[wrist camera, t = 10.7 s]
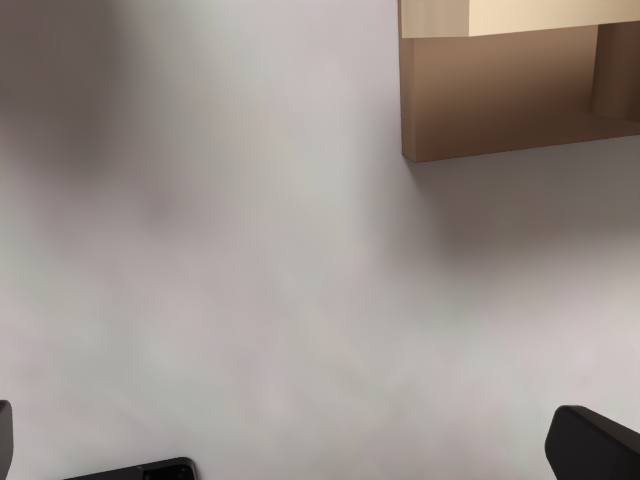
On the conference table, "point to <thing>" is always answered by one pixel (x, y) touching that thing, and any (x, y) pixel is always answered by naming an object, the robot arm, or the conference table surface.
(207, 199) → the conference table surface
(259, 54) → the conference table surface
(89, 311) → the conference table surface
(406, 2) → the beech stick
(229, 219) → the conference table surface
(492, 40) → the balance stand
